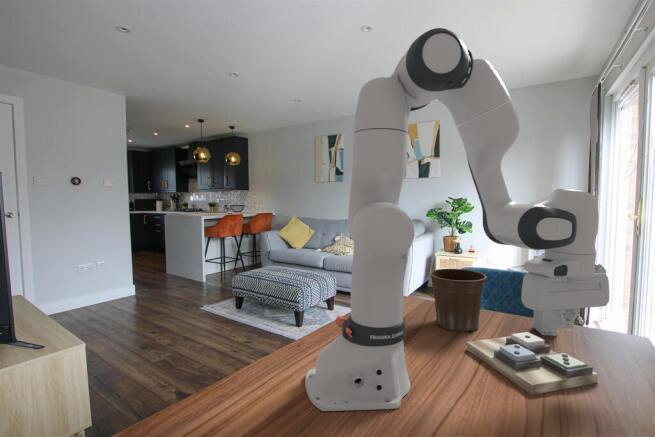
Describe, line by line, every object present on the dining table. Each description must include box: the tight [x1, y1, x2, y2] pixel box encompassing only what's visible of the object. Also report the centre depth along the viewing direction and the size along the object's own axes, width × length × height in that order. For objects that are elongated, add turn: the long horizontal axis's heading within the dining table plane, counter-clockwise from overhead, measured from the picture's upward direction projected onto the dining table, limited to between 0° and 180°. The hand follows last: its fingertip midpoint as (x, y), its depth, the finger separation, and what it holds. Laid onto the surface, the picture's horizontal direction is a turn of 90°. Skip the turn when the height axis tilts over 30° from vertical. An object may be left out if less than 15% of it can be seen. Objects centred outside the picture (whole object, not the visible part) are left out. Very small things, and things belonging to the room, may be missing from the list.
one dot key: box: [510, 331, 546, 348], centre depth 80 cm, size 5×5×2 cm
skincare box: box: [532, 310, 559, 337], centre depth 94 cm, size 6×4×12 cm
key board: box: [466, 335, 599, 396], centre depth 76 cm, size 17×20×4 cm
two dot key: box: [500, 344, 535, 363], centre depth 74 cm, size 5×5×2 cm
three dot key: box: [546, 352, 587, 370], centre depth 71 cm, size 5×5×2 cm
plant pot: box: [429, 268, 487, 333], centre depth 100 cm, size 16×16×16 cm
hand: (564, 327), depth 70 cm, fingers closed
